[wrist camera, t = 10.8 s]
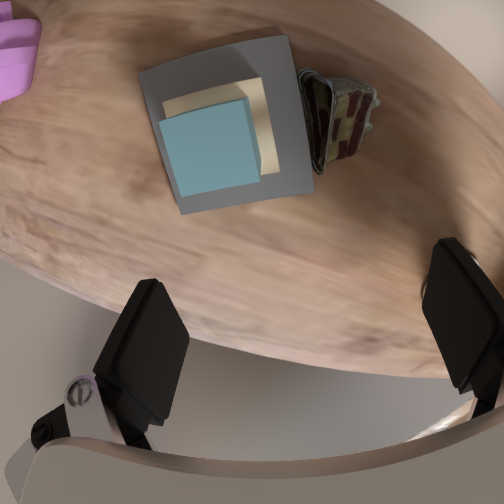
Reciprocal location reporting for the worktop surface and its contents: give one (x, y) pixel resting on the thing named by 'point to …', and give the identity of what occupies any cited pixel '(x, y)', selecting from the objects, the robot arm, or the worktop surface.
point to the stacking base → (280, 108)
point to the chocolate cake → (335, 114)
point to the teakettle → (16, 52)
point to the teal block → (213, 147)
